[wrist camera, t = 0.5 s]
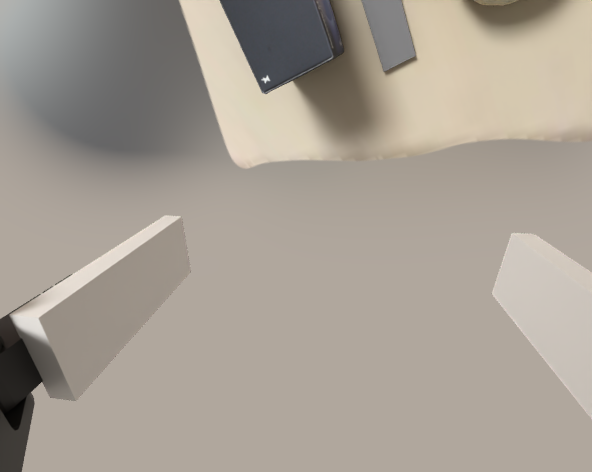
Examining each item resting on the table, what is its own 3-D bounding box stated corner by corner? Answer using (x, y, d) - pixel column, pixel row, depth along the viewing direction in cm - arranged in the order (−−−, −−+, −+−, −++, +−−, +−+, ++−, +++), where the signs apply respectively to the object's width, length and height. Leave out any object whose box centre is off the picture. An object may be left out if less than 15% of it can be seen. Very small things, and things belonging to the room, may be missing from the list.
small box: (349, 51, 29) (338, 59, 21) (291, 81, 32) (261, 99, 23) (305, -86, 24) (268, -147, 16) (242, -37, 27) (181, -68, 19)
